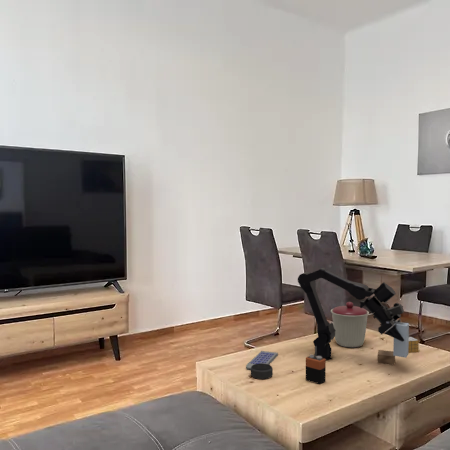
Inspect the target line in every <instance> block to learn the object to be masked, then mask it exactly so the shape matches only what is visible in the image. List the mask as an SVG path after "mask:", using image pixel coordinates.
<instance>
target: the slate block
mask: <svg viewBox="0 0 450 450" xmlns="http://www.w3.org/2000/svg"><path fill="white" fill-rule="evenodd" d="M395 324H397V330H398V331H399V333H400V334H401V336H402V337H403V339H404V341H403V342H402V341H400V340H398V339H396V338H393V345H392V346H393V349H392V351H393V356H395V357H399V358H400V357H401V358H406V359H407V357H408V355H409V353H408V346H409V337H410V335H409V334H410V323H409V322H401V321H400V322H396V323H395ZM395 324H394V325H395Z"/></svg>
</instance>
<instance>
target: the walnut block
mask: <svg viewBox="0 0 450 450" xmlns="http://www.w3.org/2000/svg"><path fill="white" fill-rule="evenodd" d="M376 360H377V364H380V365H390V366H395V363H396V356H393V350H392V351H391V350H383V349H378V350H377V359H376Z"/></svg>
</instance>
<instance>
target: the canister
mask: <svg viewBox="0 0 450 450" xmlns="http://www.w3.org/2000/svg"><path fill="white" fill-rule="evenodd" d="M330 313H331V314H332V315H331V316H332V323H333V326H334V329H335V330H336V331H335V337H334V340H335V343H336V344H338V345H339V346H341V347H344V348H359V347H362V345H363V344H364V342H365V341H366V340H365V339H366V332H367V323H368V322H367V321H368V316H369V314H370V311H369V310H368V309H365V308H364V307H362V308H360V306H356V305H354V303H353V302H352V301H347V302H345V305H339V306H336V307H333V308H332V309H331V310H330Z"/></svg>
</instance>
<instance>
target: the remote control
mask: <svg viewBox="0 0 450 450" xmlns="http://www.w3.org/2000/svg"><path fill="white" fill-rule="evenodd" d="M278 356H279V352H275V351H266V350H261V351H260V352H258V353H257V354H256V356H254V358H252V359H251V360H250V361H248V363H247V364H246V366H245V367H246V368H245V369H246V371H250V372H251V366H252V365H254V364H259V363H264V364H268V365H270V363H271V364H272V362H273V361H275V359H277V357H278ZM270 366H271V365H270Z"/></svg>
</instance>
